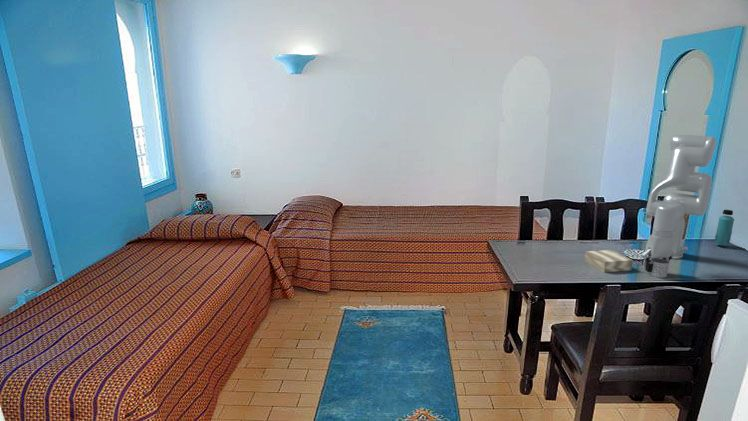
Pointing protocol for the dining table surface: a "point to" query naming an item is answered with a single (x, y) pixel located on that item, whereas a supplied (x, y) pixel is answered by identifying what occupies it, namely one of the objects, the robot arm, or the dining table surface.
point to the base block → (608, 260)
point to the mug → (658, 267)
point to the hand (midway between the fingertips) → (655, 270)
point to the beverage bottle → (724, 228)
